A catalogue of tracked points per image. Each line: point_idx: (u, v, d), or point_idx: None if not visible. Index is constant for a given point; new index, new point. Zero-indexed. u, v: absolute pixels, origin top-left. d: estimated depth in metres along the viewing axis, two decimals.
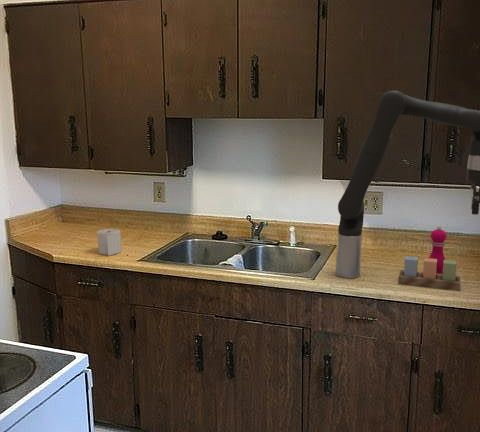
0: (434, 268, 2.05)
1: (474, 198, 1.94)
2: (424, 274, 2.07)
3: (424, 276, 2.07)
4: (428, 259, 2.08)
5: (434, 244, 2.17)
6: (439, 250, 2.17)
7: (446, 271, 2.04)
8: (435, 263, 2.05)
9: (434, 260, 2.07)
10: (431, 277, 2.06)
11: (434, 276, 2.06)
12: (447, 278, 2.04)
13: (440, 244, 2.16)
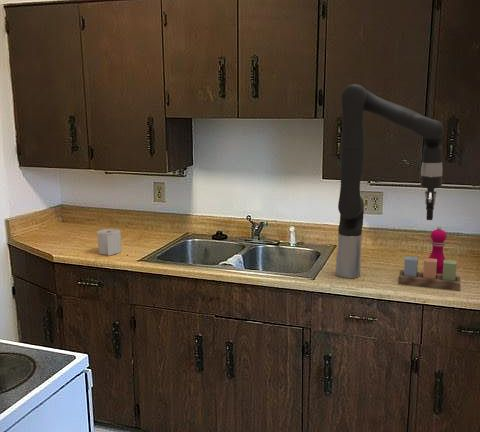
0: (434, 268, 2.05)
1: None
2: (424, 274, 2.07)
3: (424, 276, 2.07)
4: (428, 259, 2.08)
5: (434, 244, 2.17)
6: (439, 250, 2.17)
7: (446, 271, 2.04)
8: (435, 263, 2.05)
9: (434, 260, 2.07)
10: (431, 277, 2.06)
11: (434, 276, 2.06)
12: (447, 278, 2.04)
13: (440, 244, 2.16)
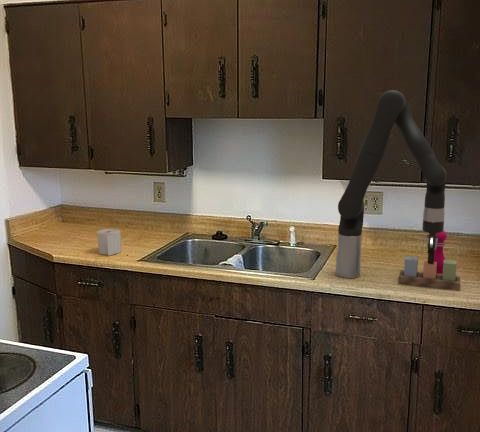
0: (434, 271, 2.05)
1: None
2: (424, 277, 2.07)
3: None
4: None
5: None
6: (439, 250, 2.17)
7: (446, 271, 2.04)
8: (435, 266, 2.05)
9: (434, 263, 2.07)
10: None
11: None
12: (447, 278, 2.04)
13: (440, 244, 2.16)
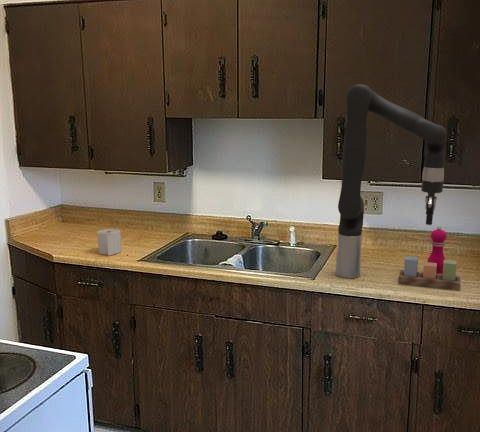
0: (434, 272, 2.06)
1: None
2: None
3: None
4: (428, 264, 2.08)
5: (434, 244, 2.17)
6: (439, 250, 2.17)
7: (446, 271, 2.04)
8: (435, 267, 2.05)
9: (434, 264, 2.07)
10: None
11: None
12: (447, 278, 2.04)
13: (440, 244, 2.16)
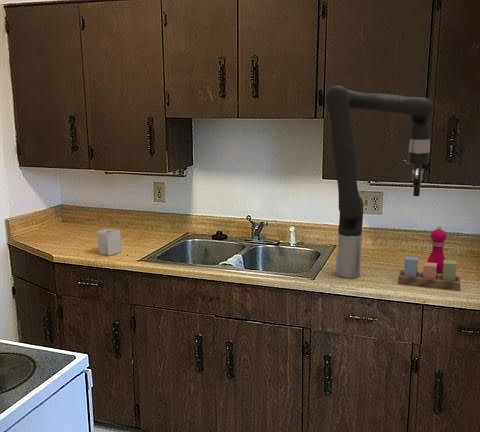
0: (434, 272, 2.06)
1: None
2: None
3: None
4: (428, 264, 2.08)
5: (434, 244, 2.17)
6: (439, 250, 2.17)
7: (446, 271, 2.04)
8: (435, 267, 2.05)
9: (434, 264, 2.07)
10: None
11: None
12: (447, 278, 2.04)
13: (440, 244, 2.16)
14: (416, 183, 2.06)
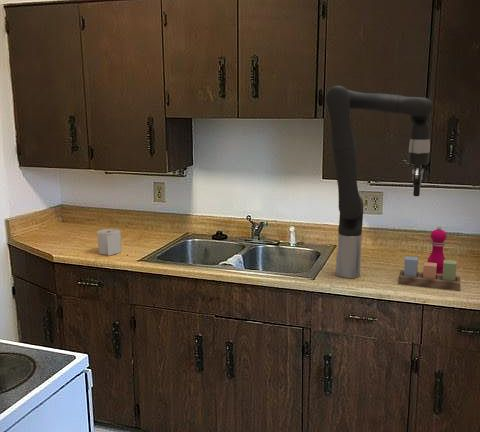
0: (434, 272, 2.06)
1: None
2: None
3: None
4: (428, 264, 2.08)
5: (434, 244, 2.17)
6: (439, 250, 2.17)
7: (446, 271, 2.04)
8: (435, 267, 2.05)
9: (434, 264, 2.07)
10: None
11: None
12: (447, 278, 2.04)
13: (440, 244, 2.16)
14: (416, 183, 2.06)
